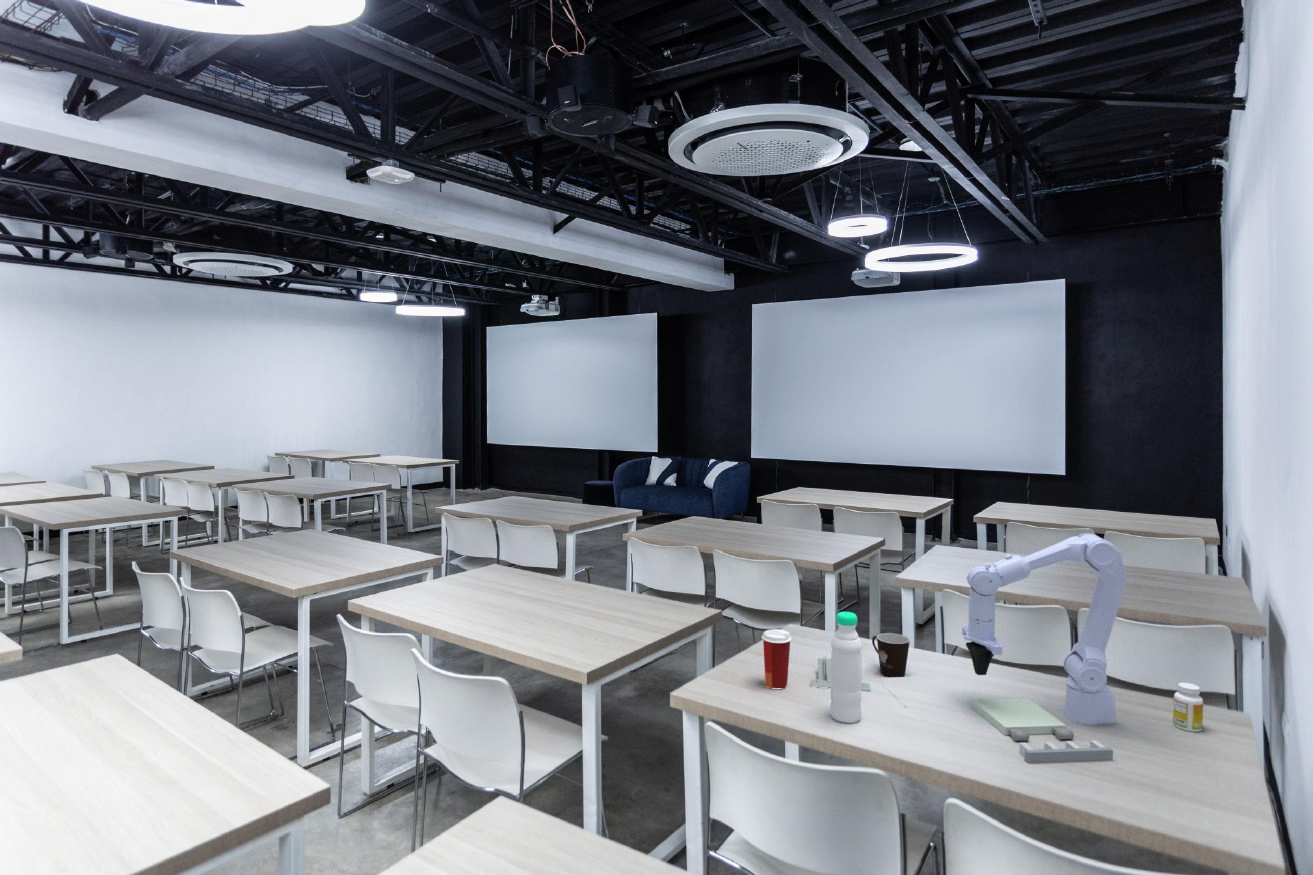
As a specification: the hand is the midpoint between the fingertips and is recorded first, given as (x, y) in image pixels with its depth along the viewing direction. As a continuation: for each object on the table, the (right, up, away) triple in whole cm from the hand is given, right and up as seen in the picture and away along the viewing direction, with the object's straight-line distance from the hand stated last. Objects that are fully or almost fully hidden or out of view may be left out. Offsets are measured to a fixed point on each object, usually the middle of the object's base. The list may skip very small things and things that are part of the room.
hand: (980, 673), depth 168 cm
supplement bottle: (+45, -10, -6) cm, 46 cm away
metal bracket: (-28, -9, +21) cm, 37 cm away
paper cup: (-46, -9, +18) cm, 50 cm away
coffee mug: (-13, -9, +27) cm, 31 cm away
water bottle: (-33, -10, -1) cm, 34 cm away
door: (+6, -9, -8) cm, 13 cm away
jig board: (+6, -10, -12) cm, 17 cm away
